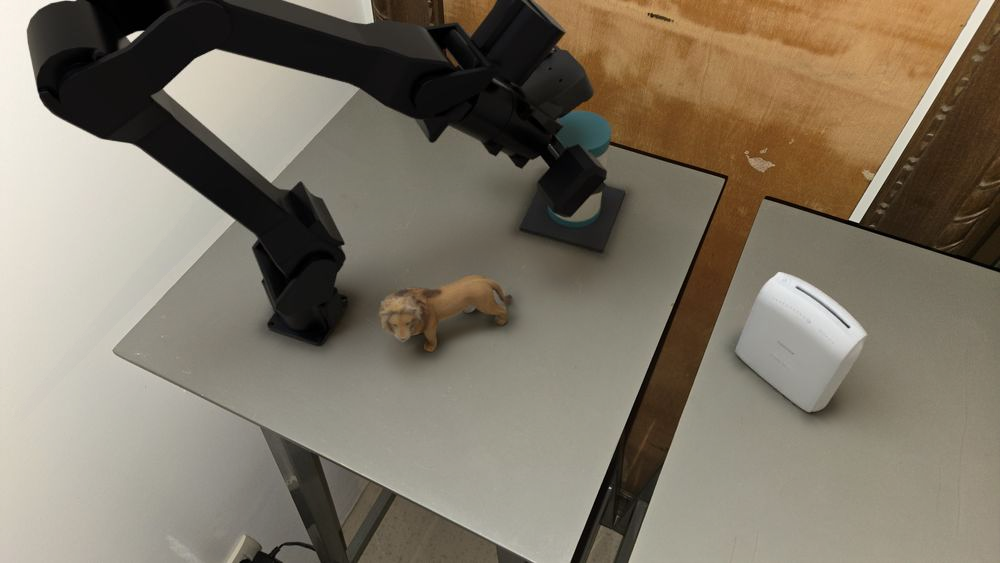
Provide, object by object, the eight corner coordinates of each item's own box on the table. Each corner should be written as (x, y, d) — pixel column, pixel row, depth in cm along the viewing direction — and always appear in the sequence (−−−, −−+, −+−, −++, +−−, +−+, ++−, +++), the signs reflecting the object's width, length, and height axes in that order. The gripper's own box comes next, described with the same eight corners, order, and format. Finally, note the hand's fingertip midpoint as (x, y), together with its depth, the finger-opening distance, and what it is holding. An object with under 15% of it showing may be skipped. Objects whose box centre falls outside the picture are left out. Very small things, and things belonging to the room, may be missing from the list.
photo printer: (726, 351, 77) (757, 277, 67) (753, 329, 79) (787, 253, 69) (809, 422, 72) (856, 352, 62) (836, 396, 74) (886, 325, 64)
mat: (519, 230, 88) (519, 227, 87) (546, 173, 93) (546, 170, 93) (602, 253, 85) (602, 250, 85) (625, 194, 91) (625, 190, 91)
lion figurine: (401, 380, 75) (390, 329, 68) (377, 342, 78) (365, 290, 71) (524, 315, 80) (526, 261, 73) (497, 282, 83) (496, 227, 76)
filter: (571, 236, 86) (579, 158, 77) (536, 205, 89) (540, 126, 80) (611, 211, 88) (623, 132, 79) (576, 182, 91) (584, 103, 82)
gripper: (599, 102, 63) (682, 159, 75) (498, -7, 74) (586, 58, 85) (514, 198, 67) (606, 238, 79) (431, 82, 78) (523, 132, 89)
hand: (580, 161), depth 83 cm, fingers open, 9 cm apart
